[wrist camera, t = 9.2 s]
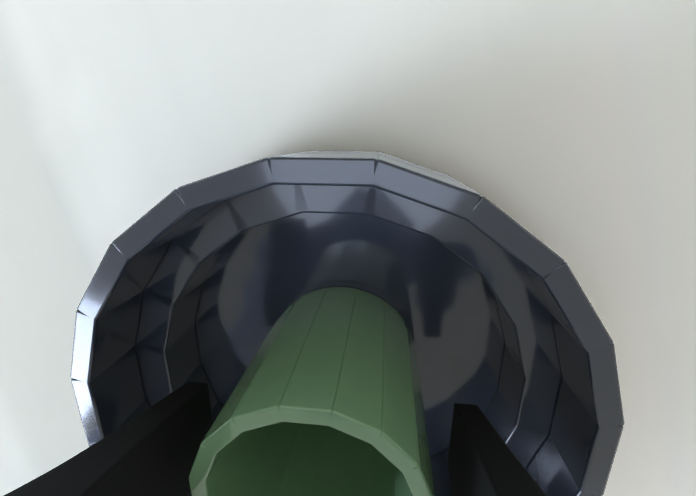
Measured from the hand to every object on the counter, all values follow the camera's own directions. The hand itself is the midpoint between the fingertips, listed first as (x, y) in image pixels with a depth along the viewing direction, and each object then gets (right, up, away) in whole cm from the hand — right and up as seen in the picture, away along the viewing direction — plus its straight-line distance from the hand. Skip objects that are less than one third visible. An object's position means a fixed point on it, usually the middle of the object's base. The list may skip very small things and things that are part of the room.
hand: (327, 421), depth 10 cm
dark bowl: (0, +1, +4) cm, 4 cm away
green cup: (0, +1, +3) cm, 3 cm away
